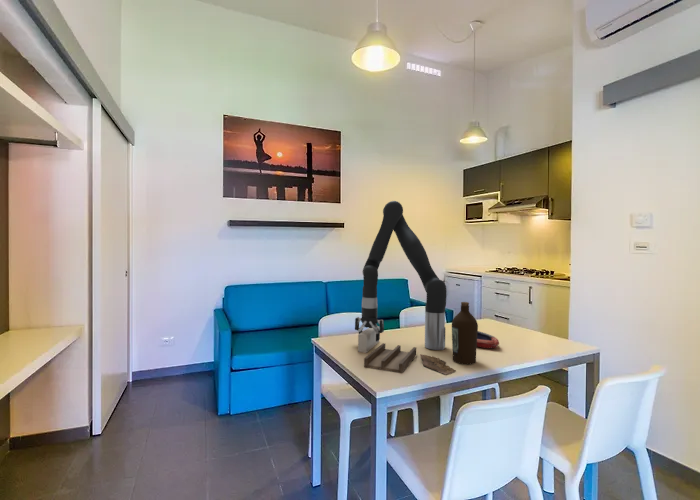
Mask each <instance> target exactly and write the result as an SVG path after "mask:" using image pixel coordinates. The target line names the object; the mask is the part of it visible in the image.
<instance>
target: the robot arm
mask: <svg viewBox="0 0 700 500" xmlns="http://www.w3.org/2000/svg"><path fill="white" fill-rule="evenodd" d="M403 213H404V207H403V205H402V203H400V201H396V200H392V201H389V202H387V203H386V204H385V205H384V206H383V210H382V215H383V217H382V221H381V224H380V227H379V230H378V233H377V235H376V236H375V238H374V241H373V243H372V245H371V249H370V251H369V254H368V257H367V259H366V262H365V264H364V265H363V269H362V275H363V278H362V279H363V286H362V296H361V297H362V299H361V317H359V316H356V317H355V319H354V330H355V331H358V335H359V334H360V333H362V332H363V331H364V328H366V329H368V328H373V329H374V330H375V332H376V333H377V334H376V342H378V341H379V342H380V339H381V334H383V333H384V331H385V324H384V322H385V321H384V319H379V318H378V281H379V267H380V265H381V263H382V261H383V260H384V257H385V255H386V252H387V249H388V247H389V242H390V240H391V237H392V234H393V233H394V234H395V235H396V238H397V241H398V243H399V245H400V247H401V249H402V251H403V252H404V255H405V256H406V258H407V259H408V261H409V263H410V264H411V266H412V267H413V269H414V270H415V271H416V273H417V275H418V277H419V278H420V281H421V283H422V285H423V289H424V291H425V293H426V299H425V300H426V303H425V306H424V307H425V310H424V314H425V315H424V348H426V349H429V350H433V351H435V350H436V351H441V350H442V351H444V349H445V348H446V326H445V324H446V306H447V294H448V293H447V285H446V283H445V282H444V280H442V279H440V278H439V277H438V276H437V274H436V272H435V271H434V269H433V267H432V266H431V263H430V260H429V257H428V254H427V252H426V250H425V246H424V245H423V244H422V242H421V240H420V238H419V237H418V236H417V234H416V233H415V232H413V230H412V229H411V228H410V226H409V224H408V222H407V221H406V219H405V216H404V214H403ZM360 322H361V323H362V324H361V325H360ZM378 325H379V329H378ZM379 342H378V343H379Z"/></svg>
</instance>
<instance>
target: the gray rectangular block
mask: <svg viewBox="0 0 700 500" xmlns="http://www.w3.org/2000/svg"><path fill="white" fill-rule="evenodd" d="M377 326H378V325H377ZM378 329H379V330H380V325H379V326H378ZM362 331H363V332H362V333H360V334H359V333H358V335H357V339H358V340H357V342H358V345H357V352H358V353H364V354H366V353H368V352H369V351H370V350H372V349H373V348H374V347H375V346H376V345H377V344H379V343H380V340H379V341H378V342H376V334H377V333H376V332H375V330H374V329H373V328H369V327H368V328H366V329H364V330H362Z"/></svg>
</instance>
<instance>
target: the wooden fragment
mask: <svg viewBox="0 0 700 500" xmlns="http://www.w3.org/2000/svg"><path fill="white" fill-rule="evenodd" d="M419 356H420V359H421V362H422V366H423V367H425V368H428V369H431V370H433V371H435V372H439V373H441V374H444V375H445V376H448V375H452V374H454V373H455V372H456V371H457V370H456V369H454V368H452V367H450V365H447V362H446V361H445V360H443V359H440V358H439V357H436V356H433V355H432V356H431V355H426V354H422V353H421V354H419Z"/></svg>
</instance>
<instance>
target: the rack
mask: <svg viewBox="0 0 700 500" xmlns="http://www.w3.org/2000/svg"><path fill="white" fill-rule="evenodd" d="M416 356H417V347H415V346H414V347H412V349H411V350H410V351H402V350H401V345H397V346H395V348H393V349H388V348H386V343H381V344H380V345H379V346H378V347H376V348H375V349H374V350H373V351H371V352H370V353H369V354H367V355H366V356H365V357H364V359H363V367H364V368H368V369H376V370H380V371H381V370H382V371H387V372H394V373H401V374H402V373H403V372H405V370H406V369H407V368H408V366H409V365H410V364H411V362H412V361H413V360H414V358H416Z"/></svg>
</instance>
